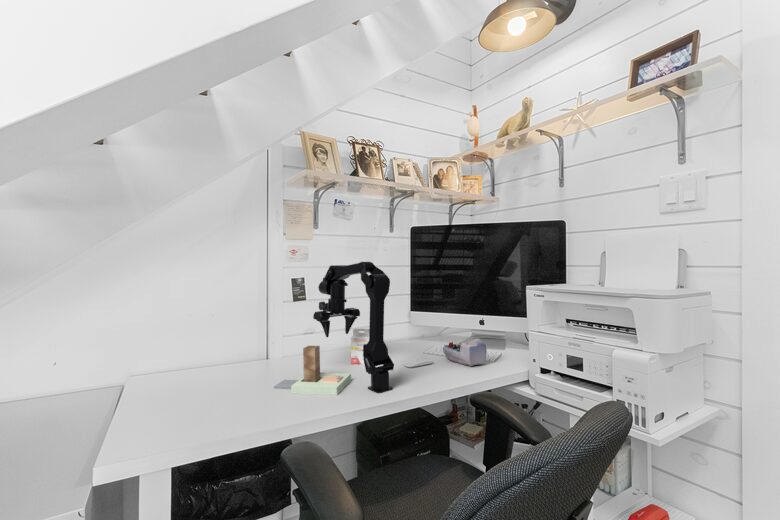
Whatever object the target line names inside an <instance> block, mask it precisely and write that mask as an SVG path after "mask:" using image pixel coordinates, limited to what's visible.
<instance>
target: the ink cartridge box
mask: <svg viewBox="0 0 780 520" xmlns="http://www.w3.org/2000/svg"><path fill="white" fill-rule="evenodd" d="M361 331H362V332H361ZM368 342H369V328H353V329H352V336H351V337H350V364H351V365H365V364H364V359H363V358H364V356H363V346H364V344H367V343H368Z"/></svg>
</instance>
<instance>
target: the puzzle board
mask: <svg viewBox="0 0 780 520" xmlns="http://www.w3.org/2000/svg"><path fill="white" fill-rule="evenodd" d="M298 380H299V381H297V382H296V383H294V384H293V385H292V386H291V389H290V392H291V394H300V395H301V394H302V395H323V396H324V395H325V396H338V395H339V394H340V393H341V391H343V389H344V388H345V387H346V386H347V385H349V383H350V382H351V381H352V373H340V372H339V373H338V372H336V373H335V372H334V373H333V372H320V380H319V381H318V382H304V376H303V377H301V378H300V379H298Z"/></svg>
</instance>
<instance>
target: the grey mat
mask: <svg viewBox="0 0 780 520" xmlns="http://www.w3.org/2000/svg"><path fill="white" fill-rule="evenodd" d="M299 380H300V379H298V380H297V379H283V380H281V381H280V382H279V383H277V384H276V385H274V386H273V389H278V388H282V389H283V390H291V386H292V385H293V384H294V383H296V382H297V381H299ZM282 389H281V390H282Z"/></svg>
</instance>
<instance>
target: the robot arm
mask: <svg viewBox="0 0 780 520" xmlns="http://www.w3.org/2000/svg"><path fill="white" fill-rule="evenodd" d="M359 274H360V281H361V282H362V283H363V284H364V287H365V293H366V295H367V296H368V298H369V328H368V329H369V342H368V343H367V344H364V346H363V356H364V358H363V359H364V364H363V365H364V368H365V372H366V373H367V374H368V375H370V385H369V386H367V389H368V390H370V391H372V392H375V393H377V394H379V393H384V392H386V391H387V392H388V391H391V390H393V389H394V388H393V387H392V386H390V372H389V371H393V370H394V367H395V363H394V362H393V360H392V358H391V357H390V355H389V349H388V346H387V344H386V342H385V341H384V333H385V331H384V326H385V325H384V324H385V300H386V297H387V295H388V294H389V292H390V285H391V280H390V278H389V277H388V275H387V274H386V273H385V272H384V270H382V269H381V268H379V267H377V266H376V265H375V264H374V263H373V262H372V261H360V262H358V263H356V262H355V263H352V264H348V265H344V264H340V265H339V264H338V265H336V264H335V265H329V267H328V269H327V271H326V274H325V275H324V277H323V278H322V280H321V281H320V282H319V285H318V291H319V292H320V294H323V295H326V296H330V297H329V298H328V300H327V302H326V301H319V302H318V309H319V311H315V312H314V313H313V316H312V317H313V320H316V321H317V322H319V323H320V324H321V326H322V328H323V332H324V335H325V338H329V334H330V329H331V320H330V318H335V317H343V318H344V320H345V327H344V329H345V334H346V335H348V334H349V333H350V330H351V328H352V326H353V324H354V323H355V321H356V320H357V319H358V317H361V311H360V309H359V308H355V307H347V308H345V306H346V303H347V302H348V300H347V299H346V287H348V286H349V284H348V283H347V282H346V279H349V278H350V277H351V276H353V275H355V276H356V275H359Z"/></svg>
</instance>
